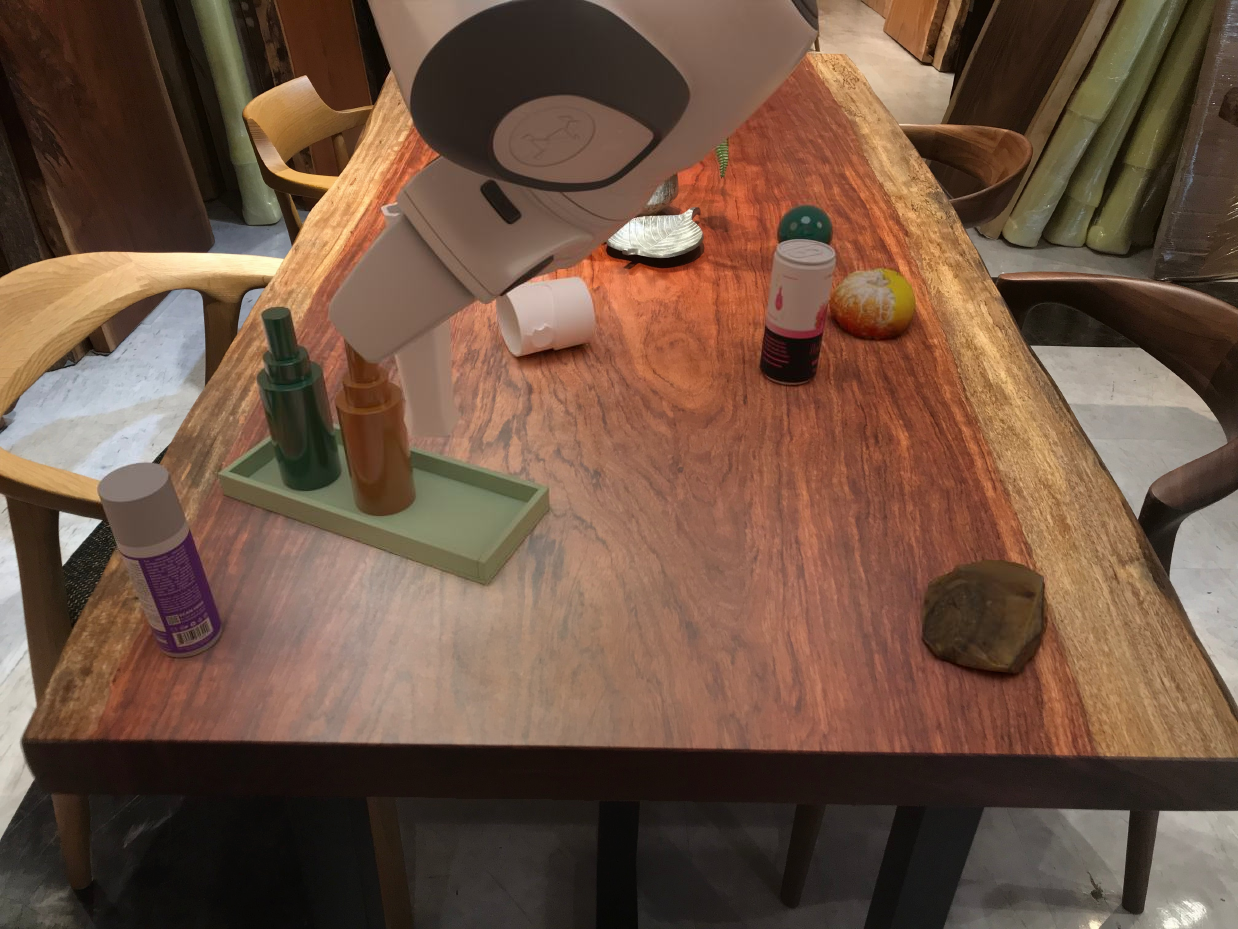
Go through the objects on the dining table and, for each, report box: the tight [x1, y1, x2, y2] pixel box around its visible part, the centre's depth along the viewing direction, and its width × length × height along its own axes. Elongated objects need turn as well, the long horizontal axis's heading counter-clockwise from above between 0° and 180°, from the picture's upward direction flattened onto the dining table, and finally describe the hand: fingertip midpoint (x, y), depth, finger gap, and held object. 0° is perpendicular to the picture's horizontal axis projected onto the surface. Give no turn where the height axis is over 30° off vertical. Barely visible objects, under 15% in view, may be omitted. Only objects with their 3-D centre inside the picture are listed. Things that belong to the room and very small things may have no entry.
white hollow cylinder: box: [495, 276, 596, 358], centre depth 107 cm, size 12×9×8 cm
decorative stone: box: [920, 559, 1049, 674], centre depth 71 cm, size 10×9×4 cm
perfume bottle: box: [380, 201, 462, 439], centre depth 55 cm, size 5×4×15 cm
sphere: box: [776, 203, 834, 247], centre depth 129 cm, size 8×8×8 cm
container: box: [96, 462, 223, 659], centre depth 65 cm, size 5×5×15 cm
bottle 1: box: [256, 306, 342, 491], centre depth 81 cm, size 6×6×17 cm
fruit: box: [828, 267, 917, 341], centre depth 113 cm, size 11×10×8 cm
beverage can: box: [759, 239, 837, 386], centre depth 100 cm, size 6×7×15 cm
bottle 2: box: [334, 337, 416, 516], centre depth 78 cm, size 6×6×17 cm
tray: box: [217, 422, 551, 586], centre depth 83 cm, size 28×11×2 cm, turn 66°
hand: (409, 312), depth 55 cm, fingers closed on perfume bottle, 4 cm apart
